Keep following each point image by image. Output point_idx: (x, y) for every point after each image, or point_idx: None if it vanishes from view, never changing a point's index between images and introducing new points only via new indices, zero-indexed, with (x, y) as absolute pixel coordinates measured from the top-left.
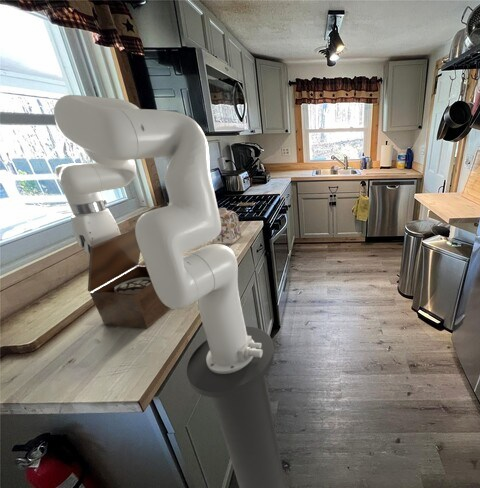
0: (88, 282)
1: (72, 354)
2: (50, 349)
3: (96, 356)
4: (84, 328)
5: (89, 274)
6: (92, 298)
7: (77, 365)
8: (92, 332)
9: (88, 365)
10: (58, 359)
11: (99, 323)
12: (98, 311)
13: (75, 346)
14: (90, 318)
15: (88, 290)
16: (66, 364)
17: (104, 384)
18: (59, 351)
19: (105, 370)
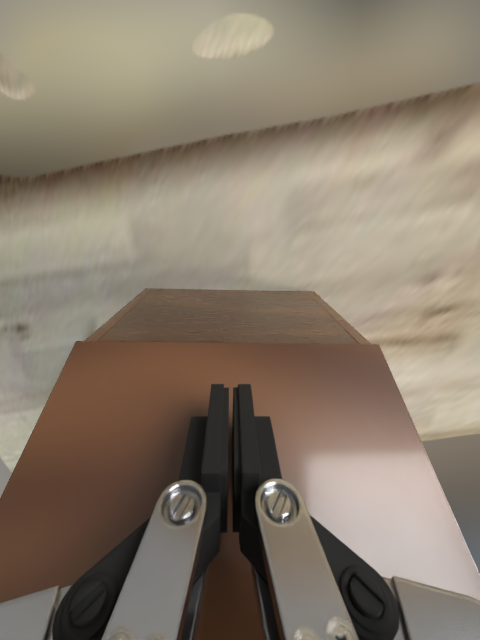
0: (48, 400)
1: (34, 311)
2: (18, 226)
3: (54, 371)
4: (115, 239)
5: (14, 478)
6: (99, 328)
7: (20, 355)
8: (109, 284)
9: (31, 377)
10: (9, 292)
11: (146, 267)
12: (127, 304)
13: (55, 290)
14: (159, 206)
15: (75, 348)
16: (10, 328)
17: (18, 438)
18: (25, 264)
19: (38, 417)
